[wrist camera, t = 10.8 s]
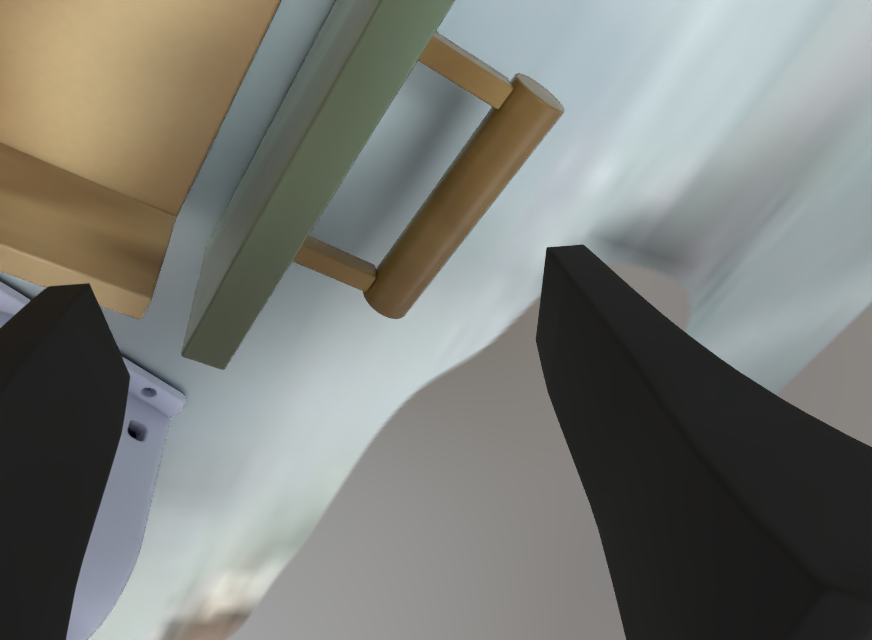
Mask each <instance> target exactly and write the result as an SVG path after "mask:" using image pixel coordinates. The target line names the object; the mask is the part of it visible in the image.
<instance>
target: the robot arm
mask: <svg viewBox="0 0 872 640" xmlns="http://www.w3.org/2000/svg"><path fill="white" fill-rule="evenodd" d="M536 343H537V347H538V352H539V357H540V361H541V365H542V370H543V374H544V378H545V382H546V386H547V390H548V393H549V396H550V399H551V401H552V405H553V407H554V410H555V413H556V415H557V418H558V421H559V423H560V426H561V429H562V431H563V434H564V437H565V439H566V442H567V445H568V447H569V450H570V452H571V455H572V458H573V460H574V463H575V466H576V468H577V471H578V474H579V476H580V479H581V482H582V484H583V487H584V489H585V492H586V495H587V497H588V500H589V503H590V505H591V508H592V512H593V514H594V518H595V521H596V524H597V527H598V530H599V534H600V537H601V541H602V545H603V549H604V552H605V556H606V560H607V564H608V568H609V572H610V575H611V579H612V583H613V587H614V591H615V595H616V599H617V603H618V607H619V611H620V615H621V620H622V624H623V627H624V632H625V636H626V640H872V447H870V446H868V445H866V444H864V443H862V442H860V441H858V440H856V439H854V438H852V437H850V436H848V435H846V434H844V433H843V432H841V431H839V430H837V429H835V428H833V427H831V426H829V425H828V424H826V423H824V422H822V421H820V420H818V419H817V418H815V417H813V416H811V415H809V414H807V413H805V412H804V411H802V410H800V409H799V408H797V407H795V406H793V405H791V404H790V403H788V402H786V401H785V400H783V399H781V398H780V397H778V396H776V395H775V394H773V393H772V392H770V391H769V390H767V389H765V388H764V387H762V386H761V385H759V384H758V383H756V382H754V381H753V380H751V379H750V378H748V377H747V376H745V375H743V374H742V373H740V372H739V371H737V370H736V369H734V368H733V367H732V366H730V365H729V364H727V363H726V362H724V361H723V360H721V359H720V358H719V357H717V356H716V355H715V354H713V353H712V352H711V351H709V350H708V349H707V348H705V347H704V346H703V345H701V344H700V343H698V342H697V341H696V340H694V339H693V338H692V337H690V336H689V335H688V334H687V333H685V332H684V331H683V330H681V329H680V328H679V327H678V326H676V325H675V324H674V323H673V322H671V321H670V320H669V319H668V318H667V317H665V316H664V315H663V314H661V313H660V312H659V311H658V310H657V309H656V308H655V307H653V306H652V305H651V304H650V303H649V302H647V301H646V300H645V299H644V298H643V297H642V296H641V295H639V294H638V293H637V292H636V291H635V290H634V289H633V288H631V287H630V286H629V285H628V284H627V283H626V282H625V281H623V280H622V279H621V278H620V277H619V276H618V275H617V274H616V273H615V272H614V271H612V270H611V269H610V268H609V267H608V266H607V265H606V264H605V263H604V262H603V261H601V260H600V259H599V258H598V257H597V256H596V255H595V254H594V253H592V252H591V251H590V250H589V249H588V248H587V247H586V246H584V245H573V246H560V247H547V250H546V258H545V267H544V275H543V284H542V292H541V300H540V309H539V318H538V326H537V334H536ZM147 388H152V389H147ZM185 400H186V398H185V396H184V395H183V394H182V393H181V392H179V391H178V390H176V389H174V388H173V387H171V386H169V385H168V384H166V383H165V382H163V381H161V380H160V379H158V378H156V377H155V376H153V375H152V374H150V373H148V372H147V371H145V370H143V369H142V368H140V367H139V366H137V365H135V364H134V363H132V362H130V361H129V360H127V359H126V358H124V357H122V356H121V354H120V351H119V349H118V347H117V345H116V342H115V340H114V338H113V335H112V333H111V331H110V329H109V326H108V324H107V322H106V320H105V317H104V315H103V313H102V310H101V308H100V306H99V304H98V301H97V299H96V297H95V295H94V292H93V290H92V288H91V285H90V283H85V284H72V285H59V286H49V287H47V288H46V289H45V290H43V291H42V292H41V293H40V294H38V295H37V296H36V297H35V298H33V299H32V300H30V299H28V298H26V297H25V296H23V295H22V294H20V293H18V292H17V291H15V290H13V289H12V288H10V287H9V286H7V285H5V284H4V283H2V282H1V281H0V640H88V638H89V637H90V636H91V635H92V634H93V633H94V632H95V631H96V630H97V629H98V628H99V626H100V625H101V624H102V623H103V621H104V620H105V619H106V617H107V616H108V615H109V613H110V612H111V610H112V608H113V607H114V605H115V603H116V602H117V600H118V598H119V597H120V595H121V593H122V591H123V589H124V587H125V585H126V583H127V581H128V579H129V577H130V575H131V573H132V570H133V568H134V566H135V563H136V560H137V558H138V555H139V552H140V549H141V545H142V541H143V537H144V533H145V528H146V524H147V520H148V515H149V511H150V506H151V502H152V497H153V493H154V489H155V484H156V480H157V475H158V471H159V467H160V462H161V458H162V453H163V449H164V445H165V440H166V436H167V431H168V427H169V422H170V418H172V417H173V416H175V415H176V414H177V413H179V412H180V411H182V410H183V409H184V405H185Z"/></svg>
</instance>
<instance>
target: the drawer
mask: <svg viewBox="0 0 872 640" xmlns="http://www.w3.org/2000/svg"><path fill="white" fill-rule="evenodd" d="M454 1H455V0H336V1H335V3H334V5H333V7H332V9H331V11H330V13H329V14H328V16H327V18H326V20H325V22H324V24H323V26H322V28H321V30H320V32H319V33H318V35H317V37H316V39H315V41H314V43H313V45H312V47H311V49H310V50H309V52H308V54H307V56H306V58H305V60H304V62H303V64H302V66H301V68H300V69H299V71H298V73H297V75H296V77H295V79H294V81H293V83H292V85H291V87H290V88H289V90H288V92H287V94H286V96H285V98H284V100H283V102H282V104H281V105H280V107H279V109H278V111H277V113H276V115H275V117H274V119H273V121H272V123H271V124H270V126H269V128H268V130H267V132H266V134H265V136H264V138H263V140H262V141H261V143H260V145H259V147H258V149H257V151H256V153H255V155H254V157H253V159H252V160H251V162H250V164H249V166H248V168H247V170H246V172H245V174H244V176H243V178H242V179H241V181H240V183H239V185H238V187H237V189H236V191H235V193H234V195H233V196H232V198H231V200H230V202H229V204H228V206H227V208H226V210H225V212H224V214H223V215H222V217H221V219H220V221H219V223H218V225H217V227H216V229H215V231H214V232H213V234H212V236H211V238H210V240H209V242H208V244H207V246H206V248H205V252H204V257H203V261H202V265H201V270H200V274H199V278H198V282H197V287H196V291H195V295H194V300H193V304H192V308H191V312H190V317H189V321H188V325H187V330H186V334H185V338H184V342H183V347H182V351H181V356H183V357H185V358H188V359H191V360H194V361H197V362H200V363H203V364H206V365H209V366H213V367H216V368H219V369H222V370H224V369H225V368H226V366H227V365H228V363H229V362H230V360H231V358H232V357H233V355H234V354H235V352H236V350H237V349H238V347H239V346H240V344H241V342H242V341H243V339H244V338H245V336H246V334H247V333H248V331H249V330H250V328H251V326H252V325H253V323H254V322H255V320H256V318H257V317H258V315H259V314H260V312H261V310H262V309H263V307H264V306H265V304H266V302H267V301H268V299H269V298H270V296H271V294H272V293H273V291H274V290H275V288H276V286H277V285H278V283H279V282H280V280H281V278H282V277H283V275H284V274H285V272H286V270H287V269H288V267H289V266H290V264H291V262H292V261H293V262H296V263H298V264H300V265H303V266H305V267H307V268H310V269H312V270H314V271H317V272H319V273H322V274H324V275H326V276H329V277H331V278H333V279H336V280H338V281H340V282H343V283H345V284H348V285H350V286H352V287H355V288H357V289H359V290H362V291H363V294H364V297H365V299H366V301H367V302H368V303H369V305H370V306H371V307H372V308H373V309H374V310H376V311H377V312H378V313H380V314H382V315H384V316H386V317H388V318H393V319H399V318H402V317H403V316H405V314H406V313H407V312H408V311H409V309H410V308H411V307H412V305H413V304H414V303H415V302H416V300H417V299H418V298H419V297H420V295H421V294H422V293H423V291H424V290H425V289H426V288H427V286H428V285H429V284H430V282H431V281H432V280H433V279H434V277H435V276H436V275H437V274H438V272H439V271H440V270H441V268H442V267H443V266H444V265H445V263H446V262H447V261H448V260H449V258H450V257H451V256H452V254H453V253H454V252H455V251H456V249H457V248H458V247H459V246H460V244H461V243H462V242H463V240H464V239H465V238H466V237H467V235H468V234H469V233H470V231H471V230H472V229H473V228H474V226H475V225H476V224H477V223H478V221H479V220H480V219H481V217H482V216H483V215H484V214H485V212H486V211H487V210H488V209H489V207H490V206H491V205H492V203H493V202H494V201H495V200H496V198H497V197H498V196H499V194H500V193H501V192H502V191H503V189H504V188H505V187H506V186H507V184H508V183H509V182H510V180H511V179H512V178H513V177H514V175H515V174H516V173H517V172H518V170H519V169H520V168H521V166H522V165H523V164H524V163H525V161H526V160H527V159H528V157H529V156H530V155H531V154H532V152H533V151H534V150H535V149H536V147H537V146H538V145H539V143H540V142H541V141H542V140H543V138H544V137H545V136H546V135H547V133H548V132H549V131H550V129H551V128H552V127H553V126H554V124H555V123H556V122H557V121H558V119H559V118H560V117H561V115H562V114H563V113H564V108H563V106H562V105H561V103H560V102H559V101H558V100H557V99H556V98H555V97H554V96H553V95H552V94H551V93H550V92H549V91H548V90H547V89H545V88H544V87H543V86H542V85H540V84H539V83H537V82H536V81H535V80H533V79H531V78H530V77H528V76H526V75H524V74H520V73H517V74H516V75H515V76H514V77H513V79H512V80H511V81H509V79H508V78H507V77H505V76H504V75H502V74H501V73H499V72H498V71H496V70H494V69H493V68H491V67H490V66H488V65H487V64H485V63H484V62H482V61H481V60H479V59H478V58H476V57H474V56H473V55H471V54H470V53H468V52H467V51H465V50H464V49H462V48H461V47H459V46H458V45H456V44H454V43H453V42H451V41H450V40H448V39H447V38H445V37H444V36H442V35H441V34H439V33H438V32H436V30H437V29H438V27H439V25H440V24H441V22H442V21H443V19H444V17H445V16H446V14H447V12H448V11H449V9H450V8H451V6H452V4H453V3H454ZM280 2H281V0H0V272H3V273H6V274H9V275H12V276H15V277H18V278H21V279H24V280H27V281H29V282H32V283H35V284H38V285H41V286H44V287H49V286H59V285H72V284H85V283H90V285H91V288H92V290H93V292H94V295H95V297H96V299H97V301H98V304H99V306H102V307H105V308H108V309H110V310H113V311H116V312H119V313H122V314H125V315H128V316H131V317H134V318H136V319H142V318H143V316H144V314H145V312H146V310H147V308H148V306H149V304H150V302H151V300H152V297H153V294H154V290H155V287H156V284H157V281H158V277H159V274H160V271H161V267H162V264H163V261H164V258H165V254H166V251H167V248H168V245H169V241H170V238H171V235H172V231H173V228H174V225H175V222H176V218H177V216H178V214H179V211H180V209H181V207H182V205H183V203H184V201H185V199H186V197H187V195H188V193H189V191H190V189H191V187H192V185H193V182H194V180H195V178H196V176H197V174H198V172H199V170H200V168H201V166H202V164H203V162H204V160H205V158H206V156H207V154H208V151H209V149H210V147H211V145H212V143H213V141H214V139H215V137H216V135H217V133H218V131H219V129H220V127H221V125H222V122H223V120H224V118H225V116H226V114H227V112H228V110H229V108H230V106H231V104H232V102H233V100H234V98H235V96H236V94H237V91H238V89H239V87H240V85H241V83H242V81H243V79H244V77H245V75H246V73H247V71H248V69H249V67H250V65H251V62H252V60H253V58H254V56H255V54H256V52H257V50H258V48H259V46H260V44H261V42H262V40H263V38H264V36H265V34H266V31H267V29H268V27H269V25H270V23H271V21H272V19H273V17H274V15H275V13H276V11H277V9H278V7H279V5H280ZM417 61H420V62H421V63H423V64H424V65H426V66H428V67H429V68H431V69H432V70H434V71H436V72H437V73H439V74H441V75H442V76H444V77H445V78H447V79H449V80H450V81H452V82H453V83H455V84H457V85H458V86H460V87H462V88H463V89H465V90H466V91H468V92H470V93H471V94H473V95H474V96H476V97H478V98H479V99H481V100H483V101H484V102H486V103H487V104H489V105H491V106H492V108H491V109H490V111H489V112H488V114H487V115H486V116H485V118H484V119H483V121H482V122H481V123H480V125H479V126H478V128H477V129H476V130H475V132H474V133H473V134H472V136H471V137H470V139H469V140H468V141H467V143H466V144H465V146H464V147H463V148H462V150H461V151H460V153H459V154H458V155H457V157H456V158H455V160H454V161H453V162H452V164H451V165H450V167H449V168H448V169H447V171H446V172H445V174H444V175H443V176H442V178H441V179H440V181H439V182H438V183H437V185H436V186H435V188H434V189H433V190H432V192H431V193H430V194H429V196H428V197H427V199H426V200H425V201H424V203H423V204H422V206H421V207H420V208H419V210H418V211H417V213H416V214H415V215H414V217H413V218H412V220H411V221H410V222H409V224H408V225H407V227H406V228H405V229H404V231H403V232H402V234H401V235H400V236H399V238H398V239H397V241H396V242H395V243H394V245H393V246H392V248H391V249H390V250H389V252H388V253H387V255H386V256H385V257H384V259H383V260H382V261H381V263H380V264H379V266H378V267H377V268H376V267H375V265H373V264H371V263H369V262H367V261H364V260H362V259H360V258H358V257H355V256H353V255H351V254H349V253H346V252H344V251H342V250H340V249H338V248H335V247H333V246H331V245H329V244H326V243H324V242H322V241H320V240H317V239H315V238H313V237H311V236H308V235H309V234H310V232H311V230H312V229H313V227H314V226H315V224H316V222H317V221H318V219H319V218H320V216H321V214H322V213H323V211H324V210H325V208H326V206H327V205H328V203H329V202H330V200H331V198H332V197H333V195H334V194H335V192H336V190H337V189H338V187H339V185H340V184H341V182H342V181H343V179H344V177H345V176H346V174H347V173H348V171H349V169H350V168H351V166H352V165H353V163H354V161H355V160H356V158H357V157H358V155H359V153H360V152H361V150H362V149H363V147H364V145H365V144H366V142H367V141H368V139H369V137H370V136H371V134H372V133H373V131H374V129H375V128H376V126H377V125H378V123H379V121H380V120H381V118H382V117H383V115H384V113H385V112H386V110H387V109H388V107H389V105H390V104H391V102H392V101H393V99H394V97H395V96H396V94H397V93H398V91H399V89H400V88H401V86H402V85H403V83H404V81H405V80H406V78H407V77H408V75H409V73H410V72H411V70H412V69H413V67H414V65H415V64H416V62H417Z"/></svg>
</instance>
